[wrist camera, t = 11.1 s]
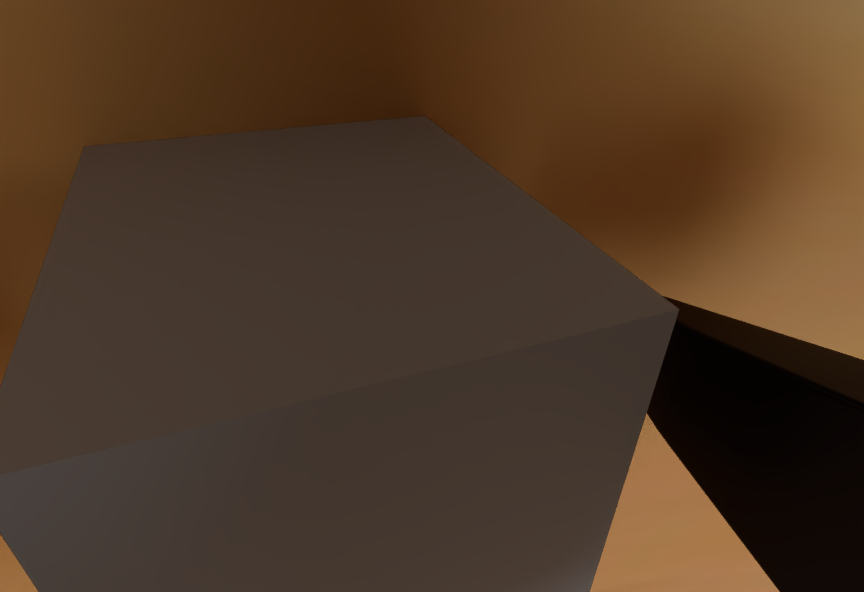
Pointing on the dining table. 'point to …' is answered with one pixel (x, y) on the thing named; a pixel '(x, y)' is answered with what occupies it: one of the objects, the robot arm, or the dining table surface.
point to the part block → (320, 373)
